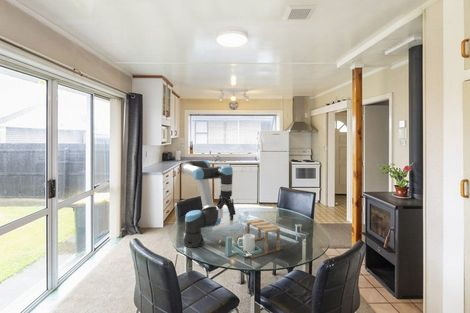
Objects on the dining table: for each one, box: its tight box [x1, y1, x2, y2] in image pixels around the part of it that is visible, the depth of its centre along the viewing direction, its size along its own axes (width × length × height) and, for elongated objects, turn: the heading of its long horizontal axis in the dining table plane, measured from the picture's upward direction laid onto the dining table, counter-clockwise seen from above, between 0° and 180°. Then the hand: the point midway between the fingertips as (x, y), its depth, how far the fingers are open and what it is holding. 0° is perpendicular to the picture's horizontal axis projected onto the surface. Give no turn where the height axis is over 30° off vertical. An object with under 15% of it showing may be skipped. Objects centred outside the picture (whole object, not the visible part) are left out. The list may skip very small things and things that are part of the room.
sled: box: [224, 235, 264, 258], centre depth 177 cm, size 18×23×12 cm
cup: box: [236, 233, 256, 253], centre depth 180 cm, size 8×12×10 cm
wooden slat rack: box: [246, 218, 284, 259], centre depth 184 cm, size 23×28×16 cm
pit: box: [268, 238, 287, 248], centre depth 194 cm, size 14×7×1 cm, turn 32°
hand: (225, 221), depth 173 cm, fingers open, 13 cm apart
